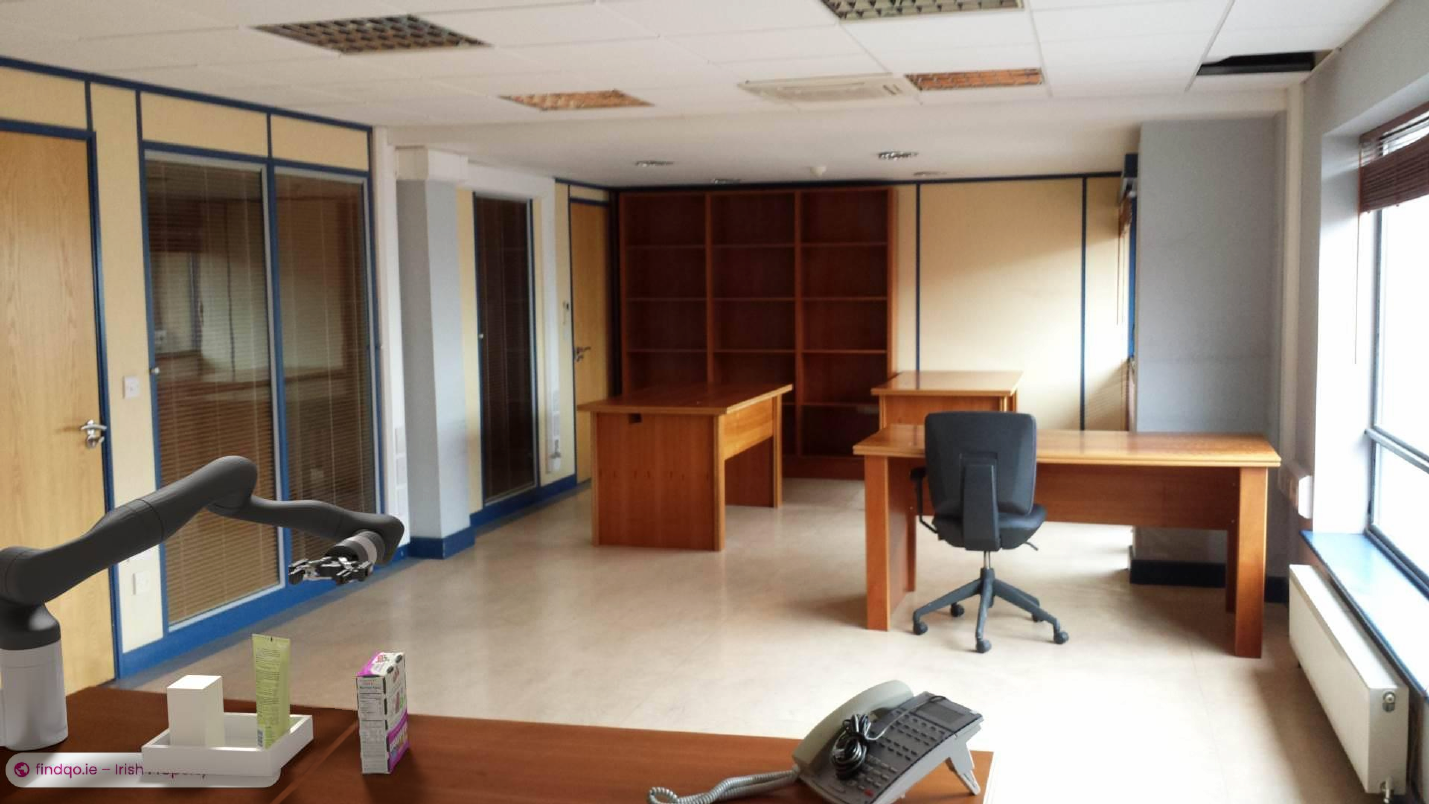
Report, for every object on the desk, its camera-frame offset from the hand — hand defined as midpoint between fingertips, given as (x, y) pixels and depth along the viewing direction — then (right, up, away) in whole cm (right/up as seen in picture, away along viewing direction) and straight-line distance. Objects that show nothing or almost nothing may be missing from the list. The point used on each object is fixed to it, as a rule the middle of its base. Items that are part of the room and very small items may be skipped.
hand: (314, 580), depth 211 cm
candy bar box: (+18, -27, -19) cm, 37 cm away
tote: (-7, -26, -19) cm, 33 cm away
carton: (-13, -25, -18) cm, 34 cm away
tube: (0, -26, -18) cm, 31 cm away
